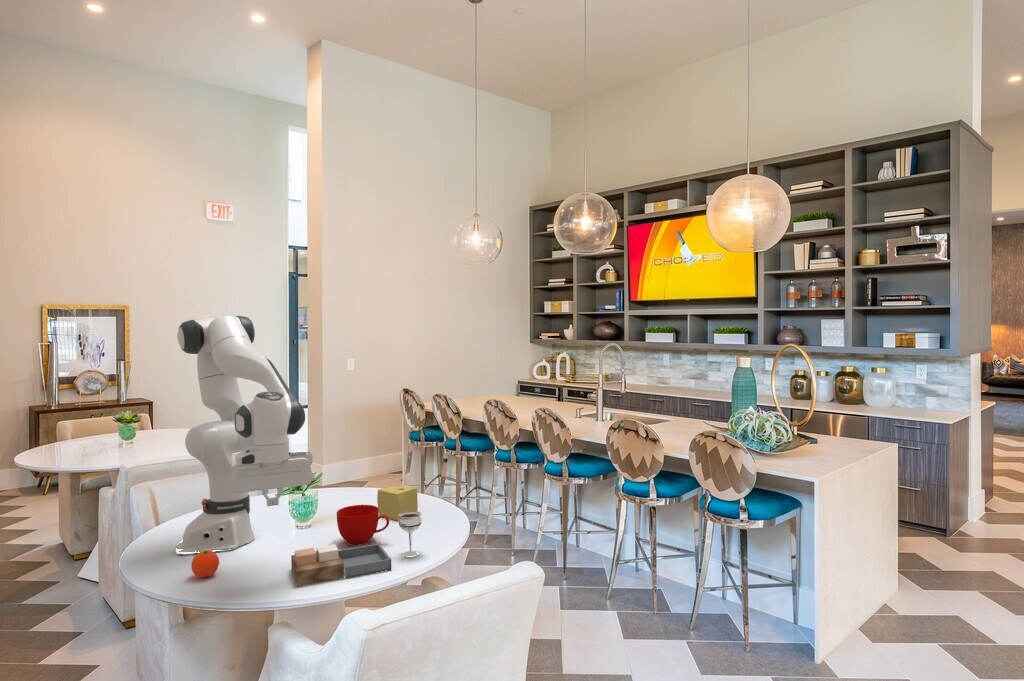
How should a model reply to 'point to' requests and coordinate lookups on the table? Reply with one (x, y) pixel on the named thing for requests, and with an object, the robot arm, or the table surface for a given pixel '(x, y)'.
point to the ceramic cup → (359, 523)
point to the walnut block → (317, 571)
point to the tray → (364, 560)
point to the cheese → (397, 500)
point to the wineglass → (409, 525)
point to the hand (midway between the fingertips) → (272, 505)
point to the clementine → (205, 563)
